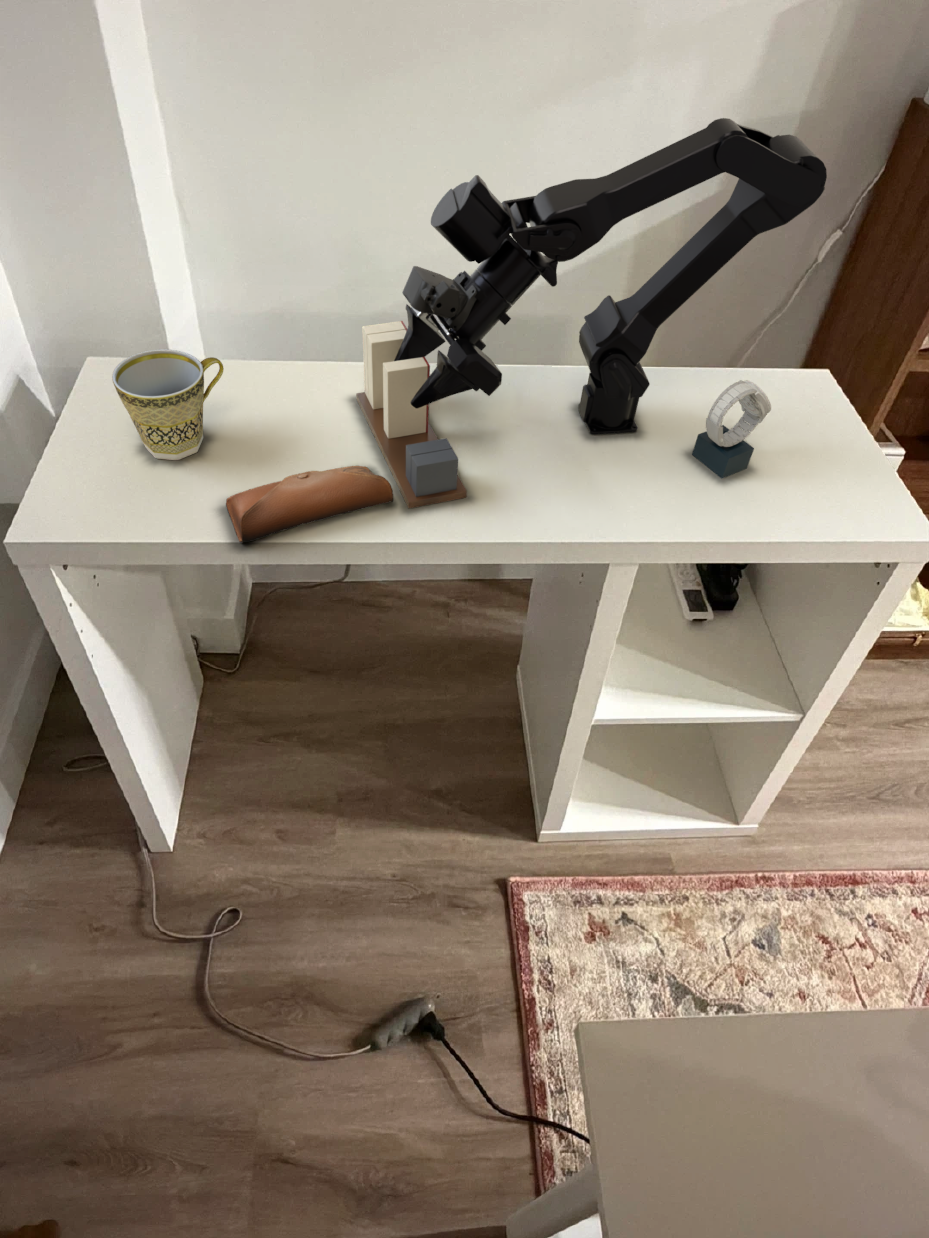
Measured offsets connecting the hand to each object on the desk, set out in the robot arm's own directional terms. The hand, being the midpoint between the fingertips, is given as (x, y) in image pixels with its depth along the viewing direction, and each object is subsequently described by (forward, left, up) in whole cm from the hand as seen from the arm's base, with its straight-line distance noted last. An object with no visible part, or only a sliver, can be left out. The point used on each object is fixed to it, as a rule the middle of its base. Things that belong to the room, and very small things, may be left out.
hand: (402, 389), depth 102 cm
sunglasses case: (+12, +11, -8) cm, 18 cm away
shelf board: (-1, +1, -8) cm, 8 cm away
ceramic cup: (+27, -3, -8) cm, 28 cm away
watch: (-39, +8, -8) cm, 41 cm away
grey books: (-2, +9, -8) cm, 12 cm away
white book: (0, -1, -7) cm, 7 cm away
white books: (+1, -8, -7) cm, 11 cm away
